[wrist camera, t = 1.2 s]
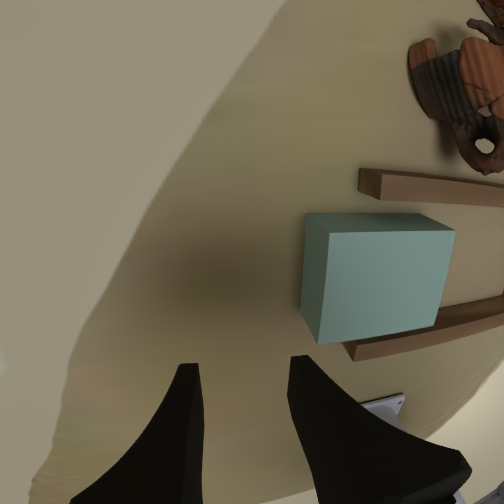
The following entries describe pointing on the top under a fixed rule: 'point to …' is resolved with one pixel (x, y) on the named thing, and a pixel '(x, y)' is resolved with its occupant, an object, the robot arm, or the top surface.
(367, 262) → the block
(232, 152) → the top surface
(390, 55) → the top surface
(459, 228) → the top surface
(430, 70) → the pottery mug
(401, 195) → the guide channel
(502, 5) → the food item
